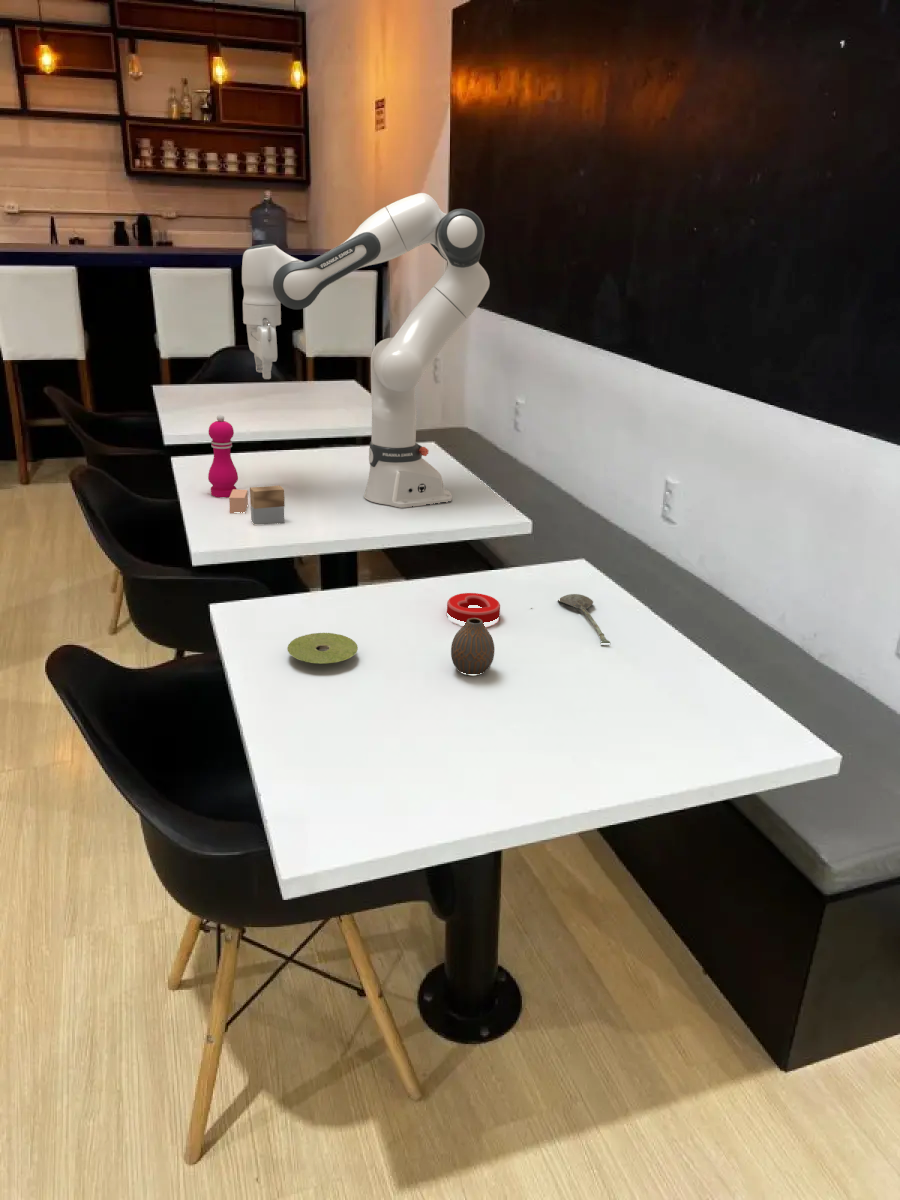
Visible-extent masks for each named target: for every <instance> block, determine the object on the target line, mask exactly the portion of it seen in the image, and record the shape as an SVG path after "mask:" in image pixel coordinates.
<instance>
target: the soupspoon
mask: <svg viewBox="0 0 900 1200" xmlns="http://www.w3.org/2000/svg"><path fill="white" fill-rule="evenodd" d="M559 602H560V603H563V604H566V605H569V606H571V607H574V608H575V609H578V610H580V611H581V610H582V611H583V612H582V611H581V612H582V613H583V614H584V615H586V618H588V620H589V621H590V622H591V624H592V625H593V627H594V629H595V630H596V631H597V633H598V637H599V636H600V637H599V639H601V640H600V644H601V643H610V644H611V641H610V640H609V639H607V638H606V637H605V634H604V633H603V632H602V630H601V628H600V626H599V625H598V624H597V622H596V621H595V619H594V618H593V616H592V615H591V613H590V612H589V611H588V610H587V609H589V608H590V607H592V606H593V604H594V600H593V599H592V598H590V597H588V596H586V595H583V594H579V593H570V594H566V595H564V596H561V597H560V601H559ZM586 608H587V609H586ZM601 641H602V642H601Z"/></svg>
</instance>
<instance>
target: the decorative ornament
mask: <svg viewBox="0 0 900 1200" xmlns="http://www.w3.org/2000/svg"><path fill="white" fill-rule="evenodd" d="M469 605H478V606H480V607H482V608H468V606H469ZM447 613H448V614H449V615H450V616H451V617H453V618H455V619H457V620H460V621H464V622H467V620H468V619H470V618H478V619H481V620H482V622H483V623H484V622H490V621H493V620H495V619H497V618H498V617H499V618H500V616H499V615H500V614H501V604H500V602H499V601H498V600H497V599H496V598H495V597H493V596H490V595H487V594H483V593H478V592H477V593H476V592H464V593H458V594H456V595H453V596H451V597H450V598H449V599H448V600H447V603H446V614H447Z"/></svg>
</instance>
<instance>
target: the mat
mask: <svg viewBox="0 0 900 1200" xmlns="http://www.w3.org/2000/svg"><path fill="white" fill-rule="evenodd" d="M358 647H359V646H358V644H357V643H356V641H355V640H353V639H352V638H350V637H348V636H345V635H343V634H338V633H333V632H318V633H317V632H315V633H309V634H305V635H301V636H298V637H296V638H294V639H293V640H291V641H290V643H288V646H287V648H286V649H287V652H288V654H289V655H290V656H291V657H293V658H294V659H296V660H299V661H301V662H305V663H311V664H333V663H339V662H343V661H345V660H349V659H351V658H352V657H353V656H355V655H356V654H357V652H358V650H359V649H358Z"/></svg>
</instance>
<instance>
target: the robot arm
mask: <svg viewBox="0 0 900 1200" xmlns="http://www.w3.org/2000/svg"><path fill="white" fill-rule="evenodd" d="M484 240H485V227H484V224H483V222H482V220H481V218H480V216H478V215H477V214H476V213H475V212H474V211H472V210H469V209H466V208H456V209H452V210H451V211H449V212H448V213H445V212H443V211H442V209H440V206H439V204H438V202H437V201H436V200H435V199H434V198H433V197H432V195H429V194H428V193H425V192H419V193H416V194H411V195H409V196H406V197H404V198H401V199H398V200H396V201H394V202H392V203H390V204H388V205H386V206H384V207H382V208H380V209H379V210H377V211H376V212H374V213H373V214H371V215H370V216H368V217H367V218H366V219H365V220H364V221H363V222H362V223H361V224H360V225H359V226H358V227H357V228H356V230H354V232H353V233H352V234H351V235H350V236H349V237H348V238H347V239H346V240H345V241H343V242H342V243H340V244H339V245H337V246H335V247H333V248H332V249H330V250H328V251H326V252H324V253H323V254H321V255H320V256H317V257H316V258H313V259H310V260H308V261H304V260H301V259H298V258H297V257H294V256H291V255H289V254H288V253H286V252H284V250H282V249H280V248H279V247H278V246H277V245H276V244H273V243H264V244H257V245H252V246H249V247H247V248H246V250H245V251H244V252H243V255H242V261H241V262H242V265H241V285H242V288H243V299H242V321H243V322H242V323H243V324H244V325H246V333H247V335H246V336H247V343H248V347H249V350H250V352H252V353H253V355H254V356H253V357H254V361H255V370H256V372H257V373H258V374H259V373H262V378H263V379H264V380H270V379H272V372H271V371H272V367H273V362H277V360H278V344H277V342H278V341H277V339H278V338H277V331H276V330H277V329H276V327H277V326H280V325H282V319H281V318H282V311H281V308H282V307H281V306H282V305H283V306H284V307H286V308H288V309H292V310H303V309H305V308H307V307H309V306H311V305H312V304H313V303H314V301H316V299H317V297H318V296H319V295H320V293H321V292H322V290H324V289H325V288H326V287H327V286H330V285H331V284H333V283H335V282H337V281H338V280H340V279H341V278H343V277H345V276H347V275H349V274H350V273H352V272H354V271H357V270H359V269H362V268H365V267H368V266H372V265H373V266H374V265H378V264H382V263H386V262H388V261H391V260H394V259H396V258H399V257H401V256H403V255H405V254H407V253H408V252H411V251H413V250H414V249H415V248H417V247H420V246H423V245H424V244H425V245H426V244H430V245H431V246H432V248H433V249H434V250H435V251H436V252H437V253H438V254H439V256H440V257H441V258H443V260H445V262H447V266H446V268H445V271H444V273H442V275H441V277H440V278H439V280H437V281H436V283H434V284H433V286H432V287H431V288H430V289H429V291H427V293H426V294H425V295H424V296H423V297H422V299H421V300H420V301H419V302H418V303H417V304H416V305H415V306H414V308H413V309H412V310H411V311H410V313H409V315H408V316H407V318H406V319H405V321H404V322H403V324H402V325H401V327H400V328H399V329H398V331H397V332H396V334H394V336H393V337H387V338H385V339H382V340H380V341H379V342H377V343H376V345H375V346H374V348H373V350H372V352H371V355H370V389H371V390H370V393H371V394H370V395H371V441H370V442H369V448H368V463H369V472H368V479H367V484H366V487H365V492H364V494H363V497H364V499H366V501H367V500H368V501H369V502H372V503H376V504H380V505H386V506H392V507H396V508H400V509H401V508H404V509H406V508H412V506H413V507H419V506H427V505H426V504H430V505H435V503H438V504H441V503H440V502H446V503H449V502H448V501H451V500H452V501H453V496H452V493H451V492H450V491H449V490H447V489H446V488H444V480H443V477H442V475H441V473H440V472H439V470H437V469H436V468H435V467H434V466H432V464H430V463H429V462H428V461H426V459H424V458H423V457H427V456H428V454H429V449H428V448H427V447H426V446H422V445H421V444H418V443H417V441H416V439H417V438H416V436H417V434H416V433H417V416H418V415H417V413H418V411H417V401H416V386H417V385H418V383H419V382H420V381H421V378H422V377H423V376H424V375H425V373H426V372H427V370H428V369H429V368H430V367H431V365H432V364H433V362H434V361H435V359H437V358H436V357H438V355H439V353H440V352H441V350H442V349H443V347H444V346H445V345H446V344H447V342H448V341H449V340H450V338H451V339H452V337H453V336H454V335H455V334H456V332H457V331H458V330H459V329H460V327H461V326H462V325H463V324H464V323H465V322H466V321H467V319H469V317H470V316H471V315H472V314H473V312H475V310H476V309H477V307H478V306H479V305H480V304H481V302H482V300H483V299H484V297H485V295H486V294H487V292H488V291H489V289H490V278H489V275H488V273H487V270H486V269H485V268H484V267H483V266H482V264H480V259H481V255H482V250H483V246H484V243H485V241H484ZM281 304H282V305H281ZM452 501H451V502H452ZM433 503H434V504H433Z"/></svg>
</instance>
